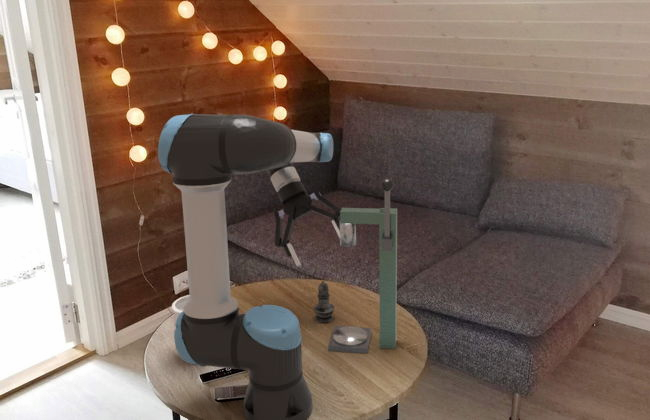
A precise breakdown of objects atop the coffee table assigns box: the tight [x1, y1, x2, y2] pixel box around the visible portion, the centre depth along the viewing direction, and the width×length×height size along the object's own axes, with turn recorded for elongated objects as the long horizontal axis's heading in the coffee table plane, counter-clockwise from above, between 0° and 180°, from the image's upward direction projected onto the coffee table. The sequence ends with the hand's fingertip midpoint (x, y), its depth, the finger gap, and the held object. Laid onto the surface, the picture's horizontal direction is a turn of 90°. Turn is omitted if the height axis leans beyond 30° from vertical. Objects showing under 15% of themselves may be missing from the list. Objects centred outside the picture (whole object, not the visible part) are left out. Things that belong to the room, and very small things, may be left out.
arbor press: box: [327, 178, 398, 354], centre depth 144 cm, size 10×17×46 cm, turn 79°
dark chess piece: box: [313, 280, 335, 325], centre depth 162 cm, size 6×6×12 cm
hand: (321, 254), depth 154 cm, fingers open, 13 cm apart
